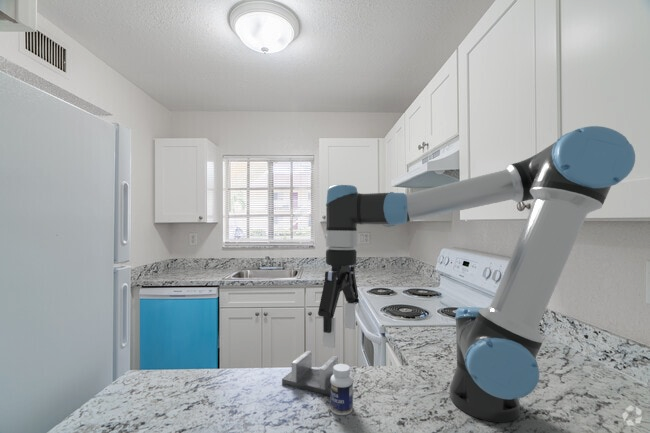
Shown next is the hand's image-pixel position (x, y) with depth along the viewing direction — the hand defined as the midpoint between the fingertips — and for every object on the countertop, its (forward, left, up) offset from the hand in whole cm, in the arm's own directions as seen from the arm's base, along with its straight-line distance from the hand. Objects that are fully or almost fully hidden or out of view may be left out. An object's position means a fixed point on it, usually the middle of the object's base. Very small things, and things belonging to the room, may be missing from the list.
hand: (340, 336), depth 70 cm
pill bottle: (0, 0, -17) cm, 17 cm away
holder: (+11, -8, -17) cm, 22 cm away
